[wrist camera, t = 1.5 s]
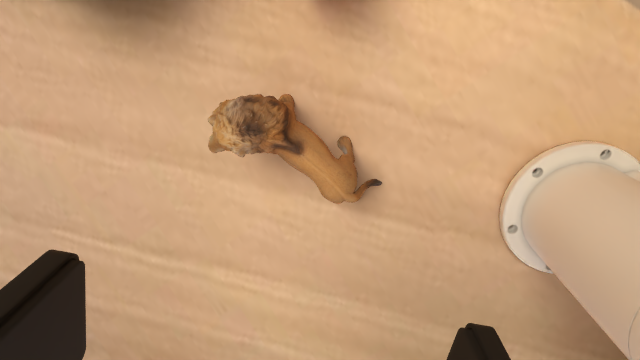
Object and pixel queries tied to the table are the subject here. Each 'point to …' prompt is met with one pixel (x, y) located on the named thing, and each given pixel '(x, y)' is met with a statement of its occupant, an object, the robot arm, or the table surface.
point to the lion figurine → (285, 143)
